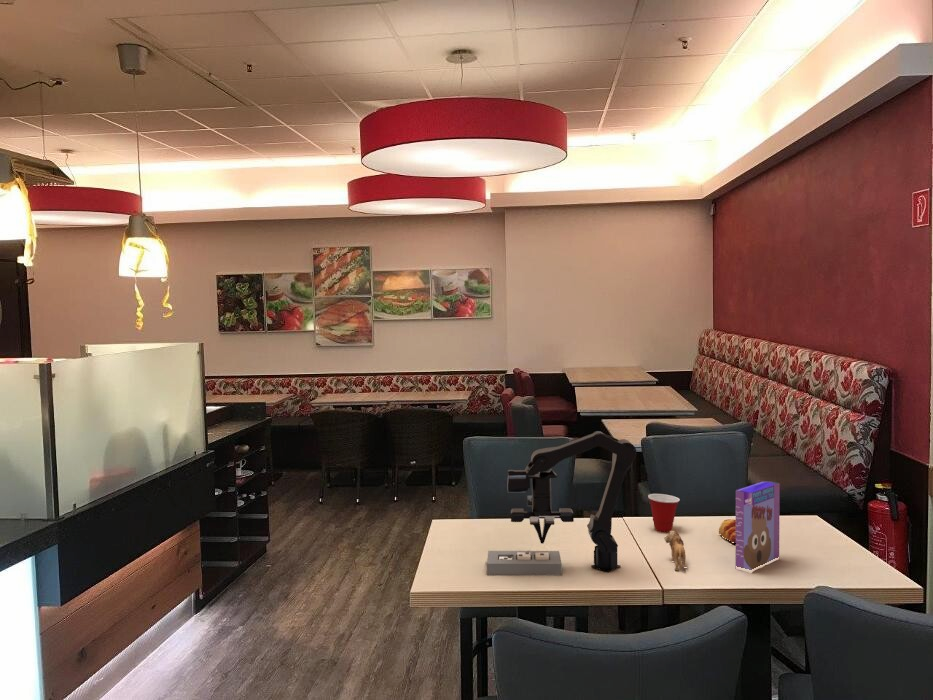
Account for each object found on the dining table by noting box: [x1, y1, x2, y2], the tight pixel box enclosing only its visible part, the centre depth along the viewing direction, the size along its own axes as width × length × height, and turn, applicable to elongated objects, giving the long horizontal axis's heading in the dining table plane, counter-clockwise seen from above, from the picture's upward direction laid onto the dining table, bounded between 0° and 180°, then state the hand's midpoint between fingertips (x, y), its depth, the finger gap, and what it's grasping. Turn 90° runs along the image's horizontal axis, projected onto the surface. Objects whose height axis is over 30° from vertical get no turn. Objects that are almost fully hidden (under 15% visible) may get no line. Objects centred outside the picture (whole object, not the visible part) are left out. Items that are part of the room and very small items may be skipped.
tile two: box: [517, 552, 531, 560], centre depth 232 cm, size 4×4×2 cm
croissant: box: [718, 519, 736, 544], centre depth 258 cm, size 21×10×8 cm, turn 170°
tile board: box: [486, 550, 563, 576], centre depth 232 cm, size 22×12×3 cm, turn 86°
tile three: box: [499, 556, 512, 560], centre depth 232 cm, size 4×4×2 cm
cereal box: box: [735, 480, 781, 570], centre depth 231 cm, size 17×5×24 cm, turn 131°
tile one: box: [535, 552, 549, 560], centre depth 231 cm, size 4×4×2 cm
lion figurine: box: [663, 530, 688, 573], centre depth 232 cm, size 15×5×9 cm, turn 2°
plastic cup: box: [647, 493, 681, 533], centre depth 268 cm, size 11×11×12 cm
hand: (542, 543), depth 231 cm, fingers closed
